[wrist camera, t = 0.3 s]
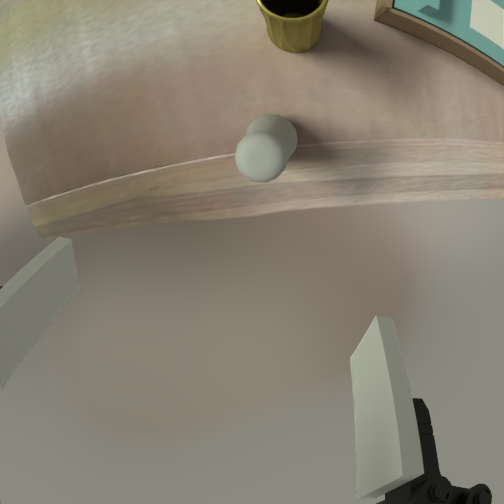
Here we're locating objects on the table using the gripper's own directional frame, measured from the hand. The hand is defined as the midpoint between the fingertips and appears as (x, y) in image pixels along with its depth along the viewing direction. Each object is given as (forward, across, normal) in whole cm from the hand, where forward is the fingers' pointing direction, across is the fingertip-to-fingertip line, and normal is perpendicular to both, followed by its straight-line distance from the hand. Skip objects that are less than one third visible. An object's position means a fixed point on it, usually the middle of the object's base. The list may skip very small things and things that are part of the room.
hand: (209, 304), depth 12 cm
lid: (+23, +19, +26) cm, 40 cm away
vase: (+28, 0, +16) cm, 32 cm away
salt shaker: (+27, 0, +2) cm, 27 cm away
